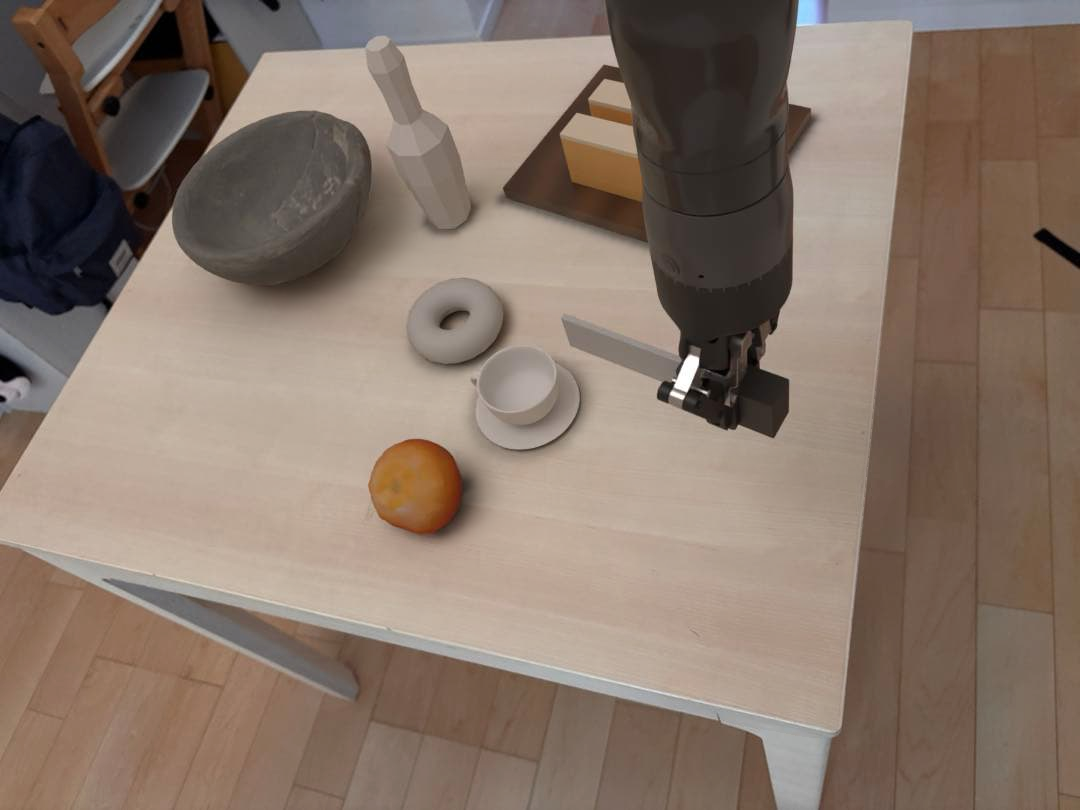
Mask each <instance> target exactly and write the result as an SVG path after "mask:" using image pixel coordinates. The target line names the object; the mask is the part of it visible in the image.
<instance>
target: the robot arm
mask: <svg viewBox="0 0 1080 810" xmlns="http://www.w3.org/2000/svg"><path fill="white" fill-rule="evenodd" d="M602 2H603V8H604V12H605V18H606V23H607V29H608V32H609V36H610V41H611V45H612V49H613V52H614V55H615V60H616V62H617V67H618V68H619V69H620V72H621V75H622V78H623V82H624V85H625V88H626V91H627V94H628V96H629V99H630V102H631V115H632V124H633V133H634V137H635V143H636V149H637V154H638V160H639V165H640V171H641V177H642V208H643V216H644V223H645V228H646V234H647V239H648V242H647V245H648V249H649V255H650V260H651V265H652V271H653V277H654V282H655V286H656V292H657V297H658V300H659V303H660V305H661V307H662V309H663V311H665V313H666V315H667V316H668V317H669V318H670V320H671V321H672V322H673V323H674V324H675V326H676V327H677V329H678V330H679V332H680V333H679V335H680V336H679V342H678V349H677V350H678V356H680V358H681V359H682V361H684V363H683V366H682V368H681V370H680V373H679V375H678V378H677V377H673V378H672V380H671V382H668V381H663V382H661V383H660V385H659V386H658V389H657V392H656V399H657V400H658V401H660V402H662V403H665V404H666V405H669V406H672V407H674V408H676V409H679V410H682V411H684V412H687V413H689V414H692V415H694V416H696V417H699V418H702V419H704V420H705V421H706V423H707V424H709V425H712V426H714V427H717V428H719V429H721V430H724V431H727V432H728V431H729V430H731V431H736V430H737V428H738V427H739V426H740V425H739V423H740V408H739V395H738V392H739V383H740V382H741V380H742V379H743V377H744V376H745V374H746V372H747V364H749V365H751V366H754V367H757V368H760V369H761V363H760V361H761V360H762V359H763V357H764V356H765V355H766V352H767V351H766V349H767V344H766V343H767V342H766V340H767V339H768V336H772V335H773V334H774V332H775V331H776V330H777V329H778V325H779V323H778V322H779V318H780V313H781V310H782V308H783V307H784V305H785V304H786V303H787V300H788V299H789V296H790V294H791V291H792V288H793V279H794V277H793V276H794V271H793V270H794V205H795V203H794V185H793V179H792V173H791V169H790V158H789V157H790V156H789V153H788V141H789V104H790V103H789V102H790V101H789V100H790V99H789V89H788V78H789V73H790V68H791V62H792V57H793V50H794V45H795V38H796V32H797V25H798V24H797V23H798V15H799V4H800V0H602Z"/></svg>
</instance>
